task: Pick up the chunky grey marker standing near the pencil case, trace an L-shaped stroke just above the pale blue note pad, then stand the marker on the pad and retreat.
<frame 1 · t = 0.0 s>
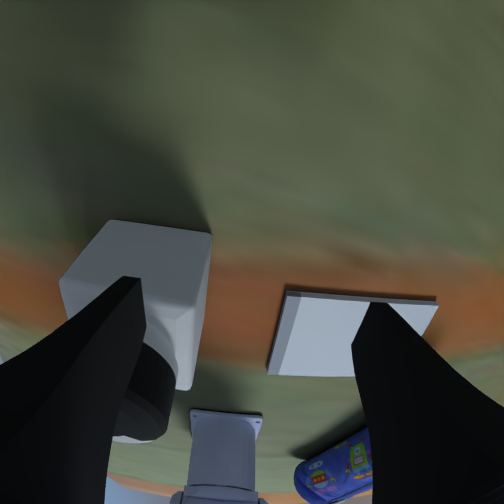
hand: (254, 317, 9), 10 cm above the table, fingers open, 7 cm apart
pencil case: (356, 434, 35), on the table
note pad: (351, 338, 24), on the table
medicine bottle: (159, 268, 21), on the table
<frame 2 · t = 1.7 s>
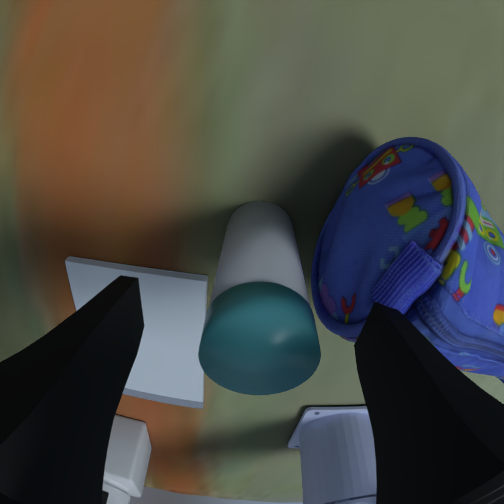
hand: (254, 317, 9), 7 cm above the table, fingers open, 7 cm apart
pencil case: (455, 264, 18), on the table, touching gripper
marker: (259, 232, 16), on the table
note pad: (142, 343, 20), on the table
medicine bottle: (119, 426, 28), on the table
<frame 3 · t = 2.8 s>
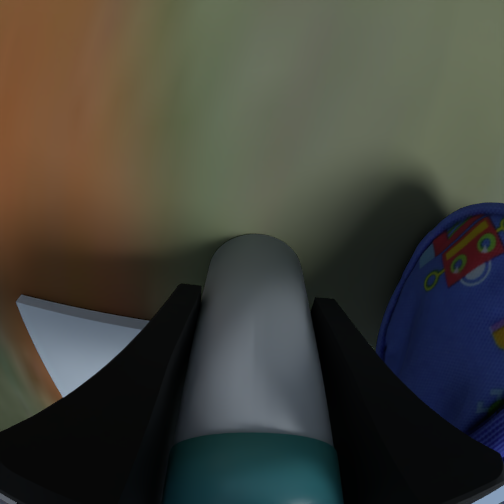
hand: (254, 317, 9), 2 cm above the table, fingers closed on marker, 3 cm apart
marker: (255, 275, 11), on the table, touching gripper
note pad: (117, 389, 16), on the table
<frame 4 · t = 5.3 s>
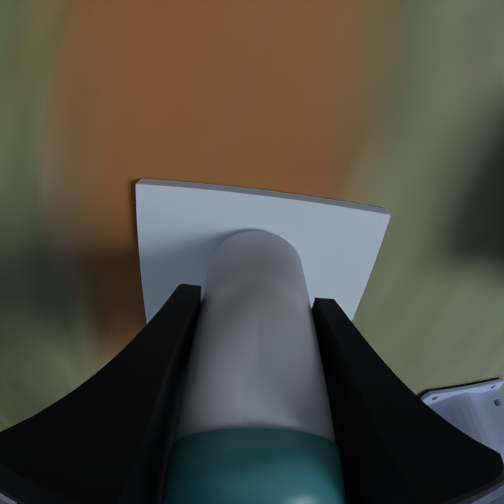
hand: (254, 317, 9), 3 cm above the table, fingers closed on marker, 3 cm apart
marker: (255, 272, 11), point 1 cm above the table, touching gripper
note pad: (246, 326, 14), on the table
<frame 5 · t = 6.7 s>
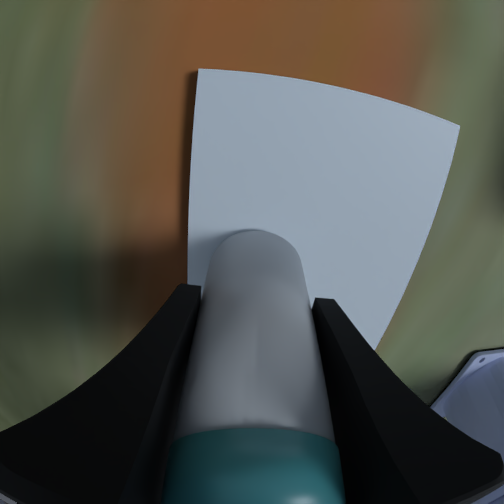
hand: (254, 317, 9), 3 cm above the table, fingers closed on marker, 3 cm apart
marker: (255, 272, 11), point 1 cm above the table, touching gripper
note pad: (306, 259, 12), on the table
when the fingers open (3 cm above the table, at t = 8.0 s): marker stays where it is, resting on note pad.
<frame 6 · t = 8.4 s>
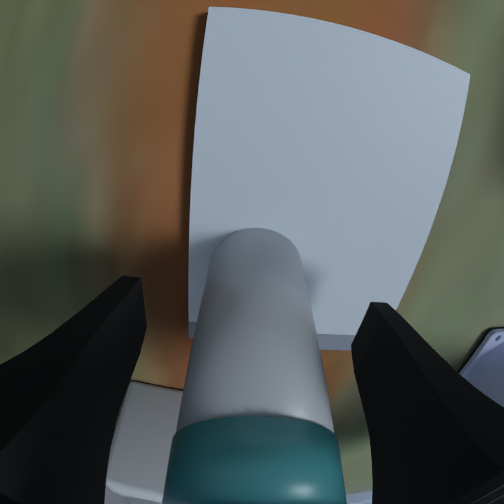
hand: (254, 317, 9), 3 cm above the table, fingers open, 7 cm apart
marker: (255, 269, 12), point 1 cm above the table, touching note pad
note pad: (319, 210, 11), on the table
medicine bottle: (187, 413, 19), on the table
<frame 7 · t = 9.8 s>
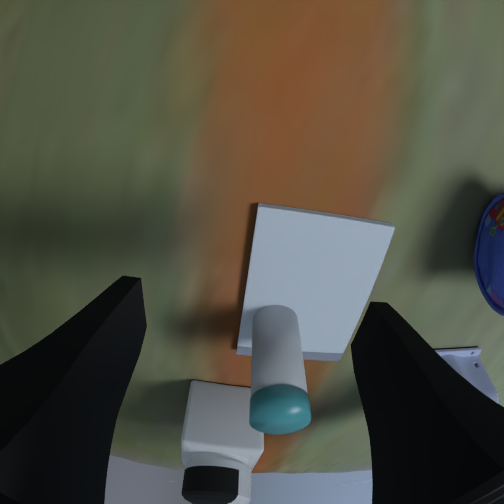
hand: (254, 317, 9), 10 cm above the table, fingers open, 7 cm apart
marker: (275, 321, 23), point 1 cm above the table, touching note pad
note pad: (307, 294, 22), on the table
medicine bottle: (224, 399, 30), on the table
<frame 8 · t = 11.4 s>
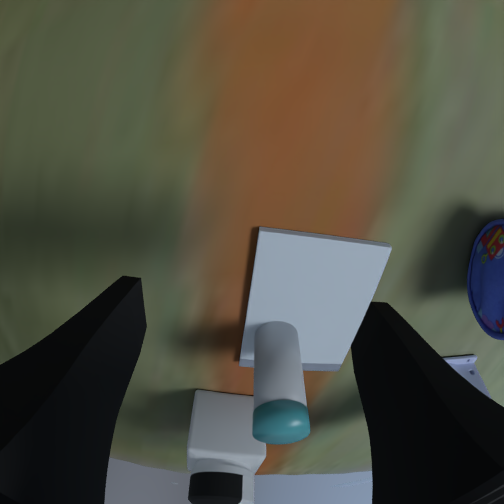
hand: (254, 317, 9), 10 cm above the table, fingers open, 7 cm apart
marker: (276, 336, 24), point 1 cm above the table, touching note pad
note pad: (307, 311, 23), on the table
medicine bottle: (227, 407, 31), on the table
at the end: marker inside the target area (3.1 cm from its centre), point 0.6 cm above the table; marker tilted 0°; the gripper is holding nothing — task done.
